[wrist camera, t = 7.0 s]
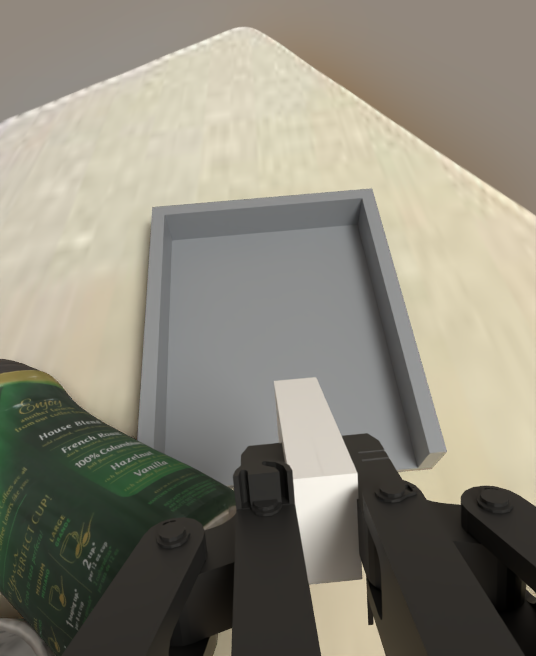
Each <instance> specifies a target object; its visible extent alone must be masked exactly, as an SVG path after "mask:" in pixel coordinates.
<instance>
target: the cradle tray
mask: <svg viewBox="0 0 536 656" xmlns="http://www.w3.org/2000/svg"><path fill="white" fill-rule="evenodd" d="M312 377H316V378H317V380H318V383H319V385H320V387H321V390H322V392H323V394H324V397H325V399H326V401H327V404H328V406H329V408H330V411H331V413H332V415H333V418H334V420H335V422H336V424H337V427H338V429H339V431H340V434H341V436H343V435H354V434H364V433H368V434H369V435H371V436H373V437H374V438H376V439H377V440H379V441H380V443H381V445H382V446H383V448H384V451H386V453H387V455H388V457H389V459H390V460H391V462H392V463H393V465H394V467H395V468H396V470H397V472H403V471H414V470H424V469H432V468H433V467H434V466H435V465H436V463H437V462H438V461H439V460H440V459H441V458H442V457H443V456H444V454H445V453H446V452H447V450H446V446H445V443H444V439H443V436H442V432H441V429H440V425H439V422H438V418H437V415H436V411H435V408H434V404H433V401H432V397H431V394H430V390H429V387H428V383H427V380H426V376H425V373H424V369H423V366H422V362H421V359H420V355H419V352H418V348H417V345H416V341H415V338H414V334H413V330H412V327H411V323H410V320H409V316H408V313H407V309H406V306H405V302H404V299H403V295H402V292H401V288H400V285H399V281H398V278H397V274H396V271H395V267H394V264H393V260H392V257H391V253H390V250H389V246H388V243H387V239H386V236H385V232H384V229H383V225H382V222H381V218H380V215H379V211H378V208H377V204H376V201H375V197H374V194H373V190H372V189H360V190H349V191H337V192H325V193H313V194H302V195H290V196H278V197H266V198H255V199H243V200H231V201H219V202H207V203H196V204H184V205H172V206H160V207H152V222H151V237H150V253H149V268H148V283H147V299H146V314H145V329H144V345H143V360H142V375H141V391H140V406H139V421H138V437H137V441H139V442H141V443H143V444H145V445H147V446H149V447H151V448H153V449H155V450H157V451H159V452H161V453H164V454H166V455H168V456H170V457H172V458H174V459H176V460H178V461H180V462H183V463H185V464H187V465H189V466H191V467H193V468H195V469H197V470H199V471H201V472H202V473H204V474H206V475H208V476H210V477H212V478H213V479H215V480H217V481H219V482H220V483H222V484H224V485H226V486H227V487H229V488H230V487H234V484H233V474H234V472H235V470H236V469H237V468H239V467H240V466H241V454H242V453H243V452H244V451H245V449H246V448H247V447H248V446H252V445H262V444H273V443H279V437H278V425H277V413H276V402H275V390H274V381H279V380H290V379H301V378H312Z"/></svg>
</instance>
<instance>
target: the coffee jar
mask: <svg viewBox="0 0 536 656" xmlns="http://www.w3.org/2000/svg"><path fill="white" fill-rule="evenodd" d="M235 514H236V502H235V493H234V491H233V490H232V489H230V488H229V487H227V486H226V485H224V484H222V483H220V482H219V481H217V480H215V479H213V478H212V477H210V476H208V475H206V474H204V473H202V472H201V471H199V470H197V469H195V468H193V467H191V466H189V465H187V464H185V463H183V462H180V461H178V460H176V459H174V458H172V457H170V456H168V455H166V454H164V453H161V452H159V451H157V450H155V449H153V448H151V447H149V446H147V445H145V444H143V443H141V442H139V441H137V440H135V439H133V438H131V437H130V436H128V435H126V434H124V433H122V432H120V431H118V430H116V429H115V428H113V427H111V426H109V425H107V424H105V423H104V422H102V421H100V420H98V419H97V418H95V417H94V416H92V415H91V414H89V413H88V412H86V411H85V410H84V409H82V408H81V407H80V406H79V405H77V404H76V403H75V402H74V401H73V400H72V398H71V397H70V396H69V395H68V394H67V392H66V391H65V390H64V389H63V387H62V386H61V385H60V384H59V383H58V382H57V381H56V380H55V379H54V378H53V377H52V376H50V375H49V374H47V373H45V372H42V371H39V370H37V369H34V368H32V367H29V366H27V365H25V364H22V363H19V362H15V361H11V360H6V359H0V592H1V593H2V594H3V595H4V596H5V597H6V599H7V600H8V601H9V602H10V603H11V604H12V605H13V606H14V608H15V609H16V610H17V611H18V612H19V613H20V614H21V615H22V616H23V617H24V619H25V620H26V621H27V622H28V623H29V624H30V625H31V627H32V628H33V629H34V630H35V631H36V633H37V634H38V635H39V636H40V638H41V639H42V640H43V641H44V642H45V643H46V644H47V646H48V647H49V648H50V649H51V650H52V652H53V653H54V654H55V655H56V656H62V654H63V653H64V651H65V650H66V648H67V647H68V646H69V644H70V643H71V641H72V640H73V638H74V637H75V635H76V634H77V632H78V631H79V629H80V628H81V626H82V625H83V623H84V622H85V621H86V619H87V618H88V616H89V615H90V613H91V612H92V610H93V609H94V607H95V606H96V604H97V603H98V601H99V600H100V599H101V597H102V596H103V594H104V593H105V591H106V590H107V588H108V587H109V585H110V584H111V582H112V581H113V579H114V578H115V576H116V575H117V574H118V572H119V571H120V569H121V568H122V566H123V565H124V563H125V562H126V560H127V559H128V557H129V556H130V554H131V553H132V552H133V550H134V549H135V547H136V546H137V544H138V543H139V541H140V540H141V538H142V537H143V535H144V534H145V533H146V532H147V531H148V530H149V529H150V528H151V527H153V526H155V525H156V524H158V523H160V522H162V521H165V520H168V519H172V518H182V517H185V518H191V519H195V520H196V521H198V522H200V523H201V524H202V526H203V528H204V530H207V529H210V528H213V527H216V526H219V525H221V524H223V523H225V522H226V521H228V520H230V519H231V518H232V517H233V516H234V515H235Z"/></svg>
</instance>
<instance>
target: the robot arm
mask: <svg viewBox="0 0 536 656" xmlns="http://www.w3.org/2000/svg"><path fill="white" fill-rule="evenodd" d="M274 390H275V402H276V413H277V425H278V437H279V443H273V444H262V445H252V446H248V447H247V448H246V449H245V451H244V452H243V453H242V454H241V466H240V467H239V468H237V469H236V470H235V472H234V474H233V484H234V493H235V502H236V514H235V515H234V516H233V517H232V518H231V519H230V520H228V521H226V522H225V523H223V524H221V525H219V526H216V527H213V528H210V529H207V530H204V528H203V526H202V524H201V523H200V522H198V521H196V520H195V519H191V518H185V517H182V518H172V519H168V520H165V521H162V522H160V523H158V524H156V525H155V526H153V527H151V528H150V529H149V530H148V531H147V532H146V533H145V534H144V535H143V537H142V538H141V540H140V541H139V543H138V544H137V546H136V547H135V549H134V550H133V552H132V553H131V554H130V556H129V557H128V559H127V560H126V562H125V563H124V565H123V566H122V568H121V569H120V571H119V572H118V574H117V575H116V576H115V578H114V579H113V581H112V582H111V584H110V585H109V587H108V588H107V590H106V591H105V593H104V594H103V596H102V597H101V599H100V600H99V601H98V603H97V604H96V606H95V607H94V609H93V610H92V612H91V613H90V615H89V616H88V618H87V619H86V621H85V622H84V623H83V625H82V626H81V628H80V629H79V631H78V632H77V634H76V635H75V637H74V638H73V640H72V641H71V643H70V644H69V646H68V647H67V648H66V650H65V651H64V653H63V654H62V656H213V654H214V651H215V648H216V645H217V638H218V633H220V632H223V631H225V630H228V629H230V628H232V652H231V656H321V652H320V647H319V641H318V635H317V629H316V623H315V617H314V611H313V606H312V600H311V594H310V588H309V585H310V584H320V583H330V582H340V581H349V580H359V579H362V564H363V567H364V570H365V573H366V581H367V604H368V625H373V616H374V619H375V622H376V626H377V629H378V632H379V635H380V638H381V642H382V645H383V648H384V651H385V654H386V656H536V598H535V597H534V596H533V595H531V594H530V593H529V592H528V591H527V590H526V584H527V585H528V586H529V587H530V588H532V589H533V590H534V592H535V593H536V507H535V506H534V505H533V504H531V503H530V502H528V501H527V500H525V499H524V498H522V497H521V496H519V495H517V494H515V493H513V492H511V491H509V490H506V489H502V488H499V487H495V486H479V487H473V488H470V489H468V490H466V491H465V492H464V493H463V494H462V496H461V505H456V504H446V503H438V502H432V501H429V500H426V498H425V496H424V495H423V493H422V492H421V490H419V489H418V488H417V487H416V486H415V485H414V484H412V483H409V482H407V481H404V480H402V478H401V477H400V475H399V473H398V472H397V470H396V468H395V467H394V465H393V463H392V462H391V460H390V459H389V457H388V455H387V453H386V451H384V448H383V446H382V445H381V443H380V441H379V440H377V439H376V438H374V437H373V436H371V435H369V434H368V433H364V434H354V435H343V436H341V434H340V431H339V429H338V427H337V424H336V422H335V420H334V418H333V415H332V413H331V411H330V408H329V406H328V404H327V401H326V399H325V397H324V394H323V392H322V390H321V387H320V385H319V383H318V380H317V378H316V377H312V378H301V379H290V380H279V381H274ZM361 561H362V563H361Z"/></svg>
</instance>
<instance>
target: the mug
mask: <svg viewBox="0 0 536 656" xmlns="http://www.w3.org/2000/svg"><path fill="white" fill-rule="evenodd" d="M0 656H56V655H55V654H54V653H53V652H52V650H51V649H50V648H49V647H48V646H47V644H46V643H45V642H44V641H43V640H42V639H41V638H40V636H39V635H38V634H37V633H36V631H35V630H34V629H33V628H32V627H31V625H30V624H29V623H28V622H27V621H26V620H25V619H18V618H0Z"/></svg>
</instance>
